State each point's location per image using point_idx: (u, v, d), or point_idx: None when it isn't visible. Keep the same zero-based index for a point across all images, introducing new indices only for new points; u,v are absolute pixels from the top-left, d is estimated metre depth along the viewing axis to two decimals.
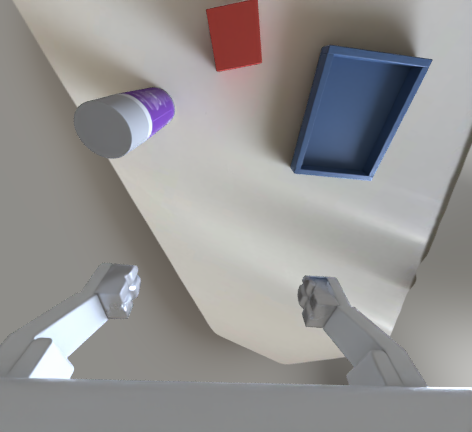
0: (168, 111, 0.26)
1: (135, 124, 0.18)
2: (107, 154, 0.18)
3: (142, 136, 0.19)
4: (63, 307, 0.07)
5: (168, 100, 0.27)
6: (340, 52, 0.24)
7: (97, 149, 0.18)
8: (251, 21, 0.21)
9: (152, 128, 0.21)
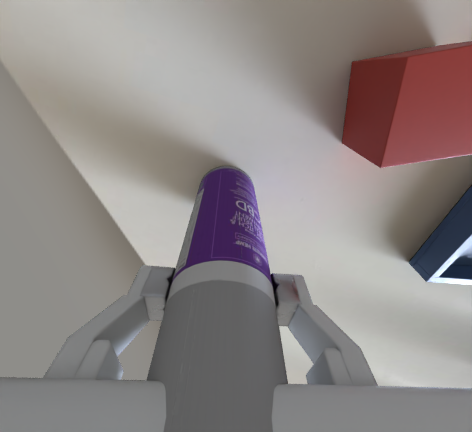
0: None
1: None
2: None
3: None
4: (114, 309, 0.08)
5: (254, 193, 0.16)
6: None
7: None
8: None
9: None
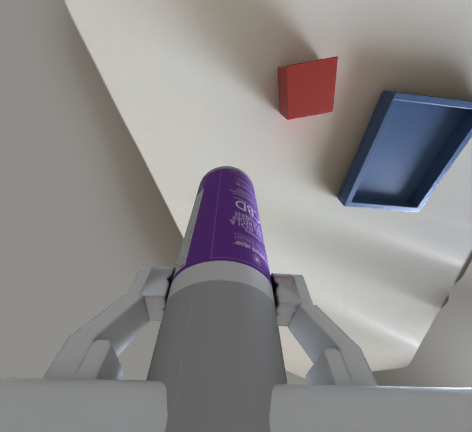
0: None
1: None
2: None
3: None
4: (114, 309, 0.08)
5: (254, 193, 0.16)
6: (405, 98, 0.25)
7: None
8: (329, 76, 0.21)
9: None
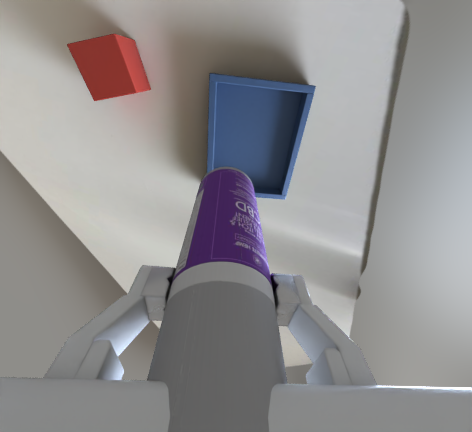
0: None
1: None
2: None
3: None
4: (114, 309, 0.08)
5: (254, 194, 0.16)
6: (221, 80, 0.24)
7: None
8: (115, 55, 0.21)
9: None
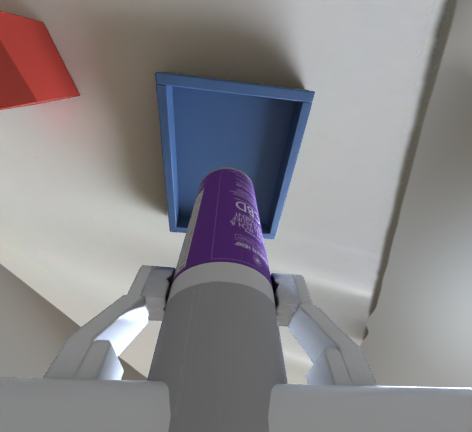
0: None
1: None
2: None
3: None
4: (114, 309, 0.08)
5: (254, 194, 0.16)
6: (174, 82, 0.16)
7: None
8: None
9: None
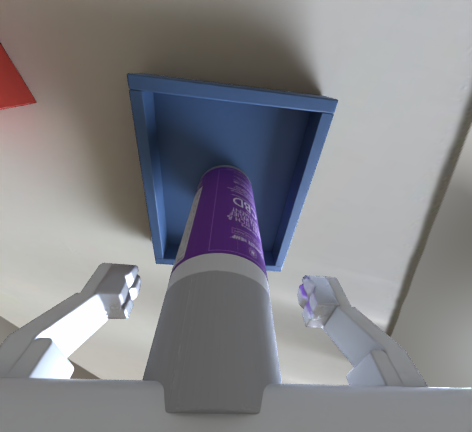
0: None
1: (280, 378, 0.07)
2: None
3: None
4: (63, 307, 0.07)
5: (251, 191, 0.16)
6: (153, 87, 0.12)
7: None
8: None
9: None
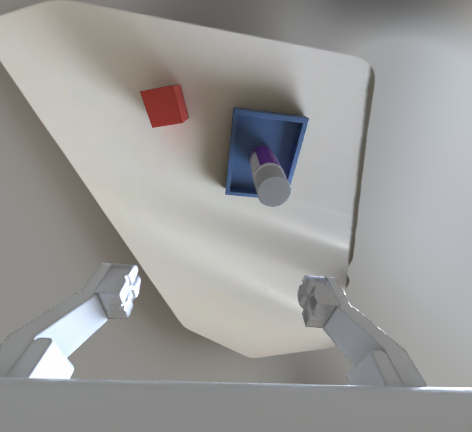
0: None
1: None
2: (270, 204, 0.29)
3: None
4: (63, 307, 0.07)
5: None
6: (242, 113, 0.34)
7: (265, 201, 0.28)
8: (171, 98, 0.31)
9: None
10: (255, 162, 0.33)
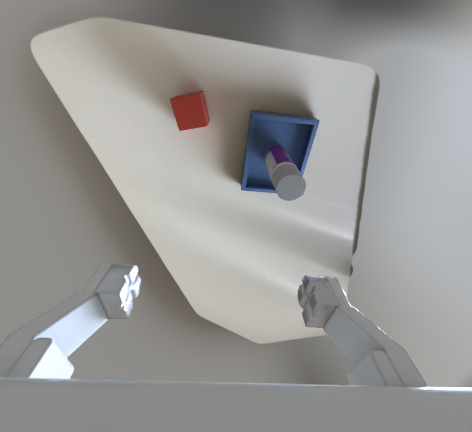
0: None
1: None
2: (287, 198, 0.33)
3: None
4: (63, 307, 0.07)
5: None
6: (259, 116, 0.38)
7: (283, 196, 0.32)
8: (198, 104, 0.35)
9: None
10: (271, 161, 0.37)
